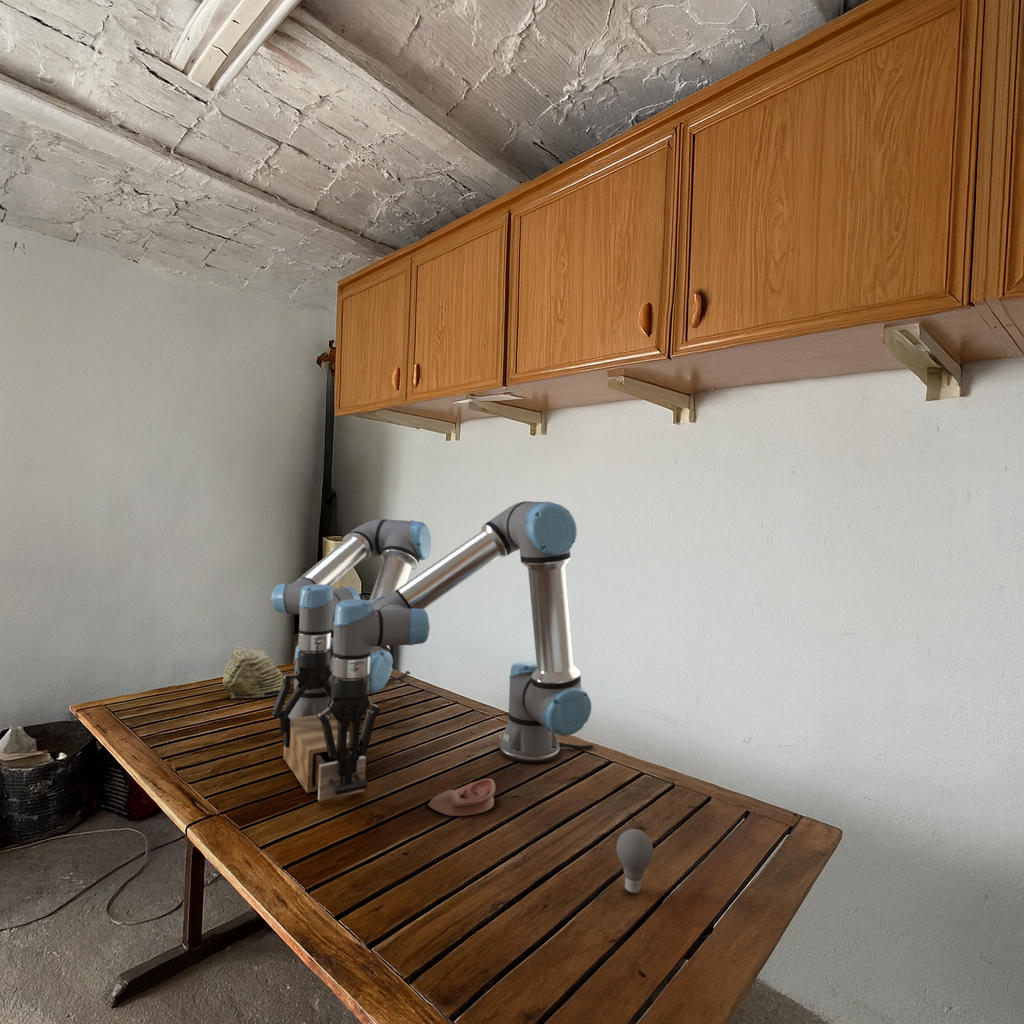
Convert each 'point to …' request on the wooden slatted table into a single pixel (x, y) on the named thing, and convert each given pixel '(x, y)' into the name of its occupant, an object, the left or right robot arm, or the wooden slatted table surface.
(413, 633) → the right robot arm
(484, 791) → the anatomical model
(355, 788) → the drawer
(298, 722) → the cabinet
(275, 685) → the fossil
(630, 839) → the light bulb
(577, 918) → the wooden slatted table surface
